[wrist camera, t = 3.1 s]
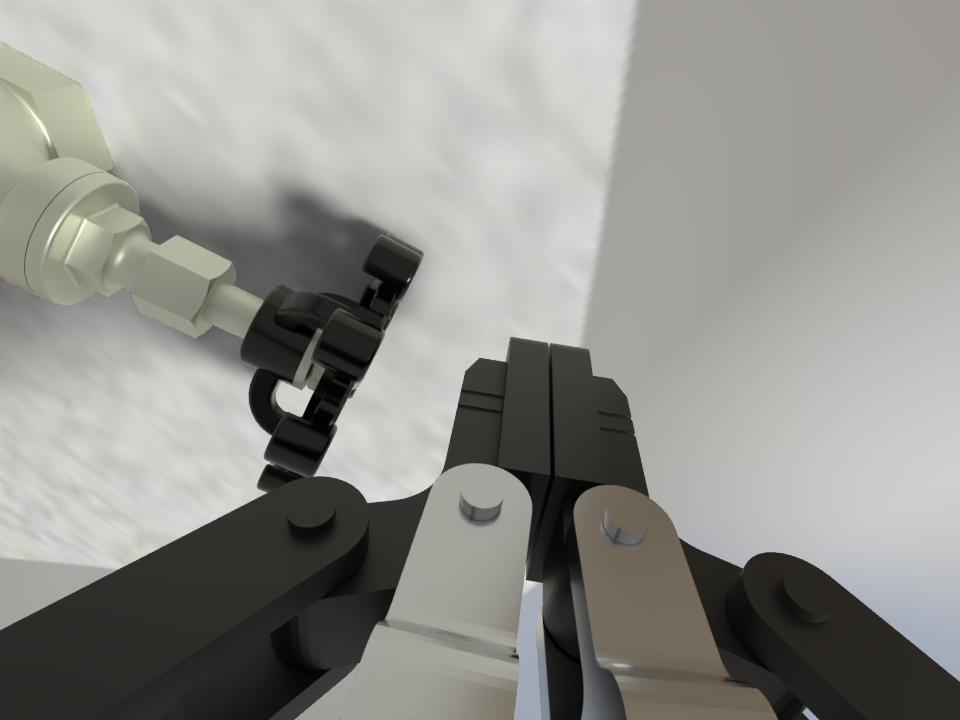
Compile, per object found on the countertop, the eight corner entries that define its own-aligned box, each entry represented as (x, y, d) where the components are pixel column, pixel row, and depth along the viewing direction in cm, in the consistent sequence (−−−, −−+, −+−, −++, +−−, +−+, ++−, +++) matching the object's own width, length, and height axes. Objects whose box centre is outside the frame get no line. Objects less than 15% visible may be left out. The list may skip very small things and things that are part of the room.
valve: (-41, 200, 15) (357, 386, 17) (-386, 311, 9) (268, 565, 12) (-53, -69, 11) (447, 208, 14) (-612, -146, 6) (382, 342, 8)
